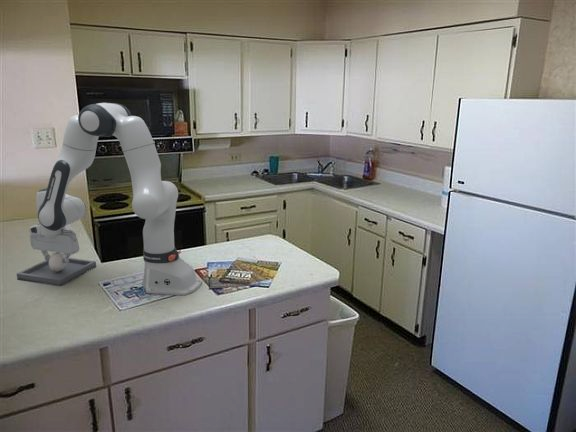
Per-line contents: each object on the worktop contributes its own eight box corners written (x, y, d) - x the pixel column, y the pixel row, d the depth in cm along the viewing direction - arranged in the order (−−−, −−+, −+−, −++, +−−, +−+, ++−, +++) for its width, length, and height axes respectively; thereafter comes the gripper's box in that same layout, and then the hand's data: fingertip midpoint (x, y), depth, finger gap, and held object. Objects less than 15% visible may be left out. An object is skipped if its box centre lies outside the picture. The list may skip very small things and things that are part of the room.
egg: (62, 266, 180) (61, 248, 178) (70, 271, 176) (69, 252, 174) (46, 270, 175) (44, 252, 173) (54, 275, 171) (52, 256, 169)
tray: (96, 266, 183) (95, 261, 182) (60, 286, 164) (60, 280, 163) (56, 261, 188) (55, 255, 187) (17, 279, 169) (16, 273, 168)
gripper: (81, 228, 171) (84, 261, 175) (37, 223, 176) (42, 255, 180) (69, 233, 165) (73, 267, 169) (25, 228, 170) (29, 261, 174)
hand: (57, 261), depth 175 cm, fingers open, 7 cm apart
